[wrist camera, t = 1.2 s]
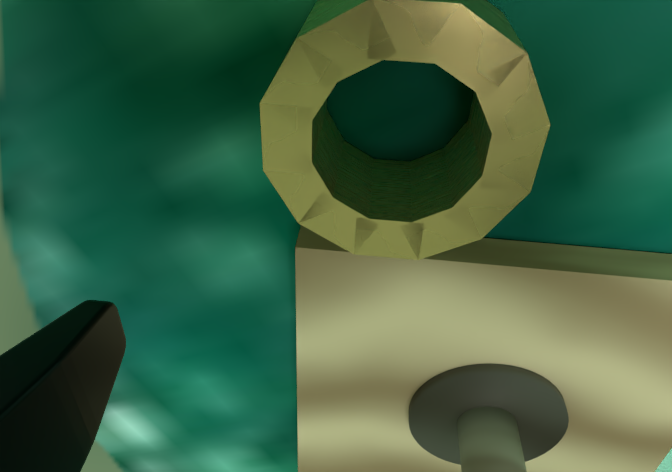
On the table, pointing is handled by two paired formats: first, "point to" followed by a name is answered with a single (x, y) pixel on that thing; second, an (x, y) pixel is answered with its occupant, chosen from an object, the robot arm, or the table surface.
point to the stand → (483, 359)
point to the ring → (401, 176)
